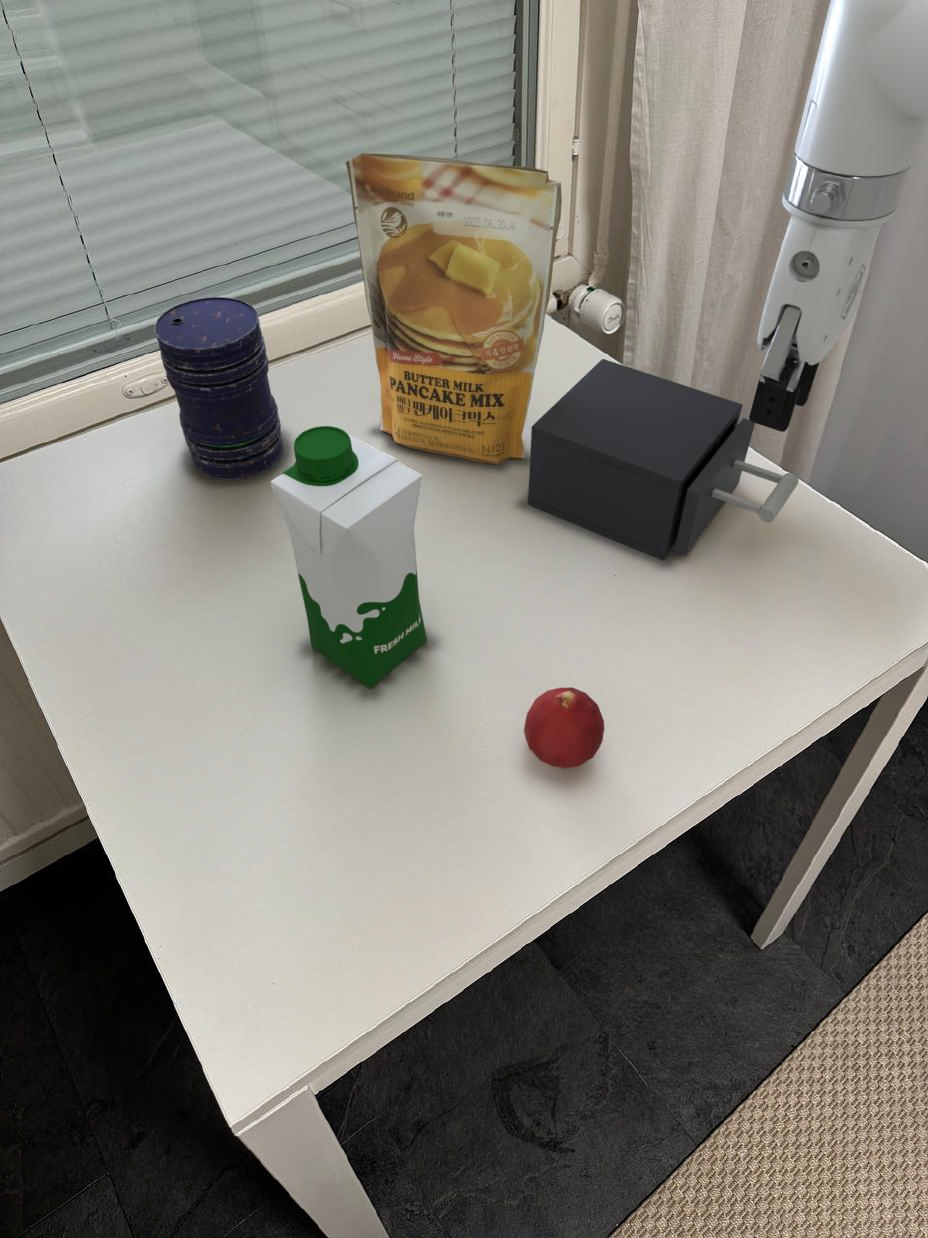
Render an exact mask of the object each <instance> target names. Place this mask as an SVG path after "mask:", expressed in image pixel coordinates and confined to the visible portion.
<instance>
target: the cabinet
mask: <svg viewBox="0 0 928 1238" xmlns="http://www.w3.org/2000/svg"><path fill="white" fill-rule="evenodd" d="M742 409H743V403H740V402H737V401H734V400H730V399H728V398H724V397H721V396H719V395H715V394H712V393H710V392H706V391H704V390H700V389H697V388H694V387H690V386H688V385H684V384H681V383H678V382H675V381H672V380H670V379H666V378H664V377H660V376H658V375H655V374H650V373H648V372H645V371H642V370H638V369H635V368H632V367H629V366H628V365H627V366H626V365H624V364H621V363H618V362H614V361H611V360H609V359H606V358H602V359H601V360H600V361H598V362H597V363H596V364H595V365H594V366H593V367H592V368H591V369H590V370H589V371H587V373H586V374H585V375H584V376H583V377H582V378H581V379H579V380H578V381H577V383H575V384H574V385H573V386H572V387H571V388H570V389H569V390H568V391H567V392H565V394H564V395H563V396H562V397H560V399H558V401H556V402H555V403H554V405H552V406H551V407H550V408H549V409H548V410H547V411H546V412H545V413H544V414H543V415H542V416H541V417H540V418H538V420H537V421H536V422H534V423H533V425H532V426H531V432H530V433H531V435H530V436H531V437H530V453H529V472H528V491H527V505H528V506H530V507H533V508H535V509H538V510H539V511H542V512H544V513H547V514H550V515H552V516H554V517H556V518H559V519H561V520H564V521H567V522H569V523H571V524H574V525H576V526H579V527H581V528H584V529H586V530H589V531H590V532H593V533H595V534H598V535H600V536H602V537H605V538H608V539H610V540H612V541H615V542H618V543H620V544H622V545H625V546H626V547H630V548H632V549H634V550H636V551H639V552H641V553H644V554H646V555H649V556H651V557H654V558H656V559H658V560H661V561H665V560H666V559H667V558H668V556H670V554H671V552H672V551H674V548H675V544H676V539H677V535H678V530H679V526H680V521H681V517H682V515H681V517H680V518H679V519H678V521H677V522H676V523H675V521H676V516H677V512H678V507H679V502H680V498H681V493H682V488H683V484H684V483H685V482H686V481H687V479H688V478H689V477H690V476H691V474H692V473H693V472H694V470H695V469H696V468H697V467H698V465H699V464H700V463H701V462H702V460H703V459H704V458H705V457H706V455H707V454H708V453H709V452H710V450H711V449H712V448H713V447H714V445H715V444H716V443H717V442H718V440H719V439H720V438H721V439H720V443H719V447H718V450H719V448H720V447H721V446H722V445H723V443H724V442H725V441H726V439H727V438H728V437H729V436H730V434H731V433H732V432H733V431H734V429H735V428H736V427H737V425H738V424H739V422H740V417H741V413H742Z"/></svg>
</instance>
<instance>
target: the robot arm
mask: <svg viewBox="0 0 928 1238" xmlns="http://www.w3.org/2000/svg"><path fill="white" fill-rule="evenodd" d="M818 46H819V47H818V50H817V54H816V59H815V63H814V67H813V71H812V75H811V79H810V83H809V87H808V91H807V96H806V100H805V103H804V108H803V112H802V115H801V116H802V117H801V121H800V123H799V129H798V133H797V137H796V141H795V145H794V149H793V153H792V157H791V161H790V164H789V169H788V173H787V177H786V182H785V186H784V190H783V193H782V198H781V203H782V206H783V208H784V209H785V210H786V211H787V212H788V213H789V214H791V215H790V219H789V221H788V225H787V228H786V231H785V234H784V237H783V240H782V241H781V245H780V251H779V253H778V257H777V260H776V263H775V267H774V270H773V274H772V278H771V280H770V284H769V288H768V292H767V295H766V299H765V302H764V306H763V310H762V313H761V318H760V323H759V328H758V332H757V337H756V344H757V347H758V348H759V349H760V351H765V350H766V349H767V348H768V349H767V352H766V355H765V358H764V361H763V364H762V366H761V368H760V372H759V378H758V382H757V384H756V385H757V386H756V389H755V393H754V397H753V400H752V404H751V408H750V412H749V416H748V420H750V421H751V422H754V423H755V424H757V425H760V426H763V427H766V428H769V429H772V430H774V431H778V432H781V433H784V432H787V430H788V429H789V427H790V424H791V421H792V418H793V415H794V412H795V408H796V406H798V407H803V406H805V405H806V403H808V400H809V397H810V394H811V390H812V387H813V384H814V381H815V378H816V374H817V372H818V368H819V366H820V363H821V362H822V361H823V360H824V359H825V358H826V356H827V355H828V354H829V353H830V351H831V350H832V349H833V347H834V346H835V345H836V343H837V342H838V340H839V339H840V338H841V336H842V335H843V334H844V332H845V331H846V330H847V328H848V327H849V325H850V324H851V322H852V320H853V318H854V316H855V314H856V312H857V309H858V305H859V302H860V299H861V295H862V291H863V288H864V285H865V281H866V277H867V275H868V274H867V273H868V271H869V267H870V263H871V261H872V257H873V253H874V250H875V246H876V244H877V239H878V236H879V232H880V228H881V225H883V224H887V223H888V222H890V221H891V220H892V219H893V218H894V216H895V214H896V210H897V207H898V204H899V201H900V198H901V195H902V193H903V189H904V186H905V184H906V181H907V177H908V175H909V172H910V169H911V166H912V163H913V160H914V156H915V154H916V151H917V148H918V145H919V143H920V140H921V136H922V134H923V130H924V127H925V124H926V122H927V123H928V0H830V3H829V5H828V9H827V14H826V18H825V22H824V26H823V31H822V34H821V38H820V42H819V45H818Z"/></svg>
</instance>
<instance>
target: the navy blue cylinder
mask: <svg viewBox="0 0 928 1238" xmlns="http://www.w3.org/2000/svg"><path fill="white" fill-rule="evenodd" d="M154 334H155V337H156V340H157V342H158V347H159V351H160V359H161V362H162V366H163V369H164V370H165V376H166V379H167V381H168V383H169V386H170V387H171V388H172V389H173V391H174V393H175V397H176V401H177V404H178V408H179V414H178V417H179V424H180V427H181V429H182V434H183V438H184V441H185V444H186V446H187V447H188V450H189V452H190V456H191V461H192V464H193V466H194V467H195V469H196V470H197V471H198V472H200V473H201V474H203V476H206V477H209V478H211V479H212V478H213V479H216V480H221V481H222V480H223V481H237V480H244V479H249V478H252V477H255V476H258V475H262V474H263V473H265V472H266V471H268V470H270V469H272V467H273V466H275V465H276V464H277V463H278V462H279V460H280V459H281V458H282V456H283V454H284V451H285V450H284V448H285V447H284V441H283V438H282V430H281V429H282V424H281V419H280V414H279V408H278V404H277V402H276V399H275V397H274V396H273V394H272V392H271V385H270V381H269V377H268V376H269V375H268V373H269V358H268V355H267V348H266V343H265V338H264V335H263V332H262V330H261V322H260V317H259V314H258V311H257V309H256V308H255V307H254V306H253V305H252V304H250V303H249V302H246V301H244V300H241V299H237V298H233V297H225V296H209V297H208V296H207V297H201V298H195V299H191V300H188V301H185V302H181V303H179V304H177V305H174V306H173V307H170V308H169V309H167V310H166V311H164V312H163V313H162V314H161V315H160V316H159V317H158V318H157V320H156V321H155V323H154Z"/></svg>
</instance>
